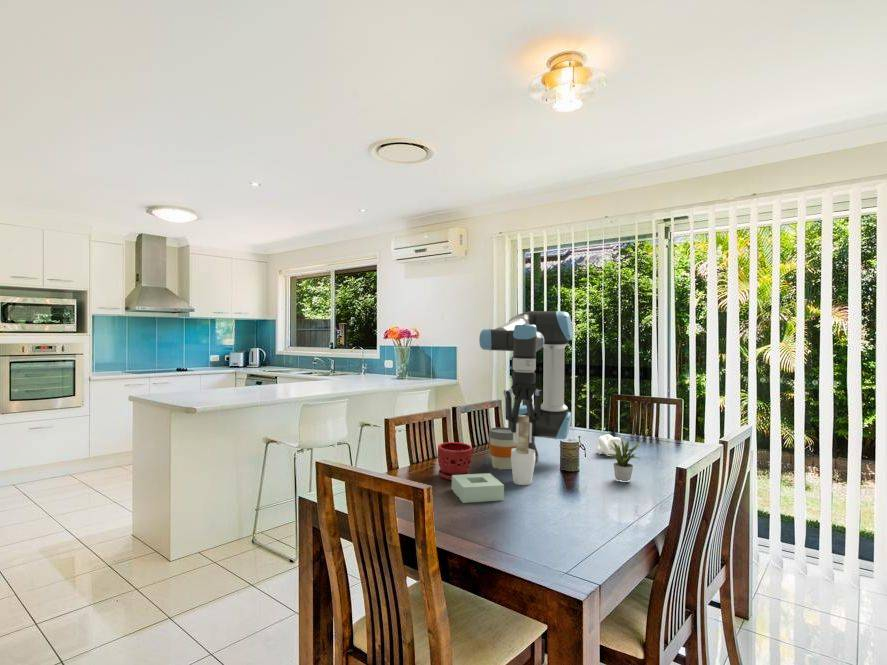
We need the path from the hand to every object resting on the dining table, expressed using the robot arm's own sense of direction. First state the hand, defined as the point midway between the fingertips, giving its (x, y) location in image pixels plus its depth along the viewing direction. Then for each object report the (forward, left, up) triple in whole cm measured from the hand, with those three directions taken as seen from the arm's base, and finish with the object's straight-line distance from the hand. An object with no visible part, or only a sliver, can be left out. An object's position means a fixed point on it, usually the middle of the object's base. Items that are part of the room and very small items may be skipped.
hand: (522, 441), depth 169 cm
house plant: (-48, -13, -20) cm, 53 cm away
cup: (-9, -19, -20) cm, 29 cm away
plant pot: (+14, -30, -20) cm, 38 cm away
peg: (0, 0, -4) cm, 4 cm away
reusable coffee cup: (-10, -41, -20) cm, 46 cm away
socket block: (+12, -9, -20) cm, 25 cm away
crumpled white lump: (-65, -52, -20) cm, 85 cm away
